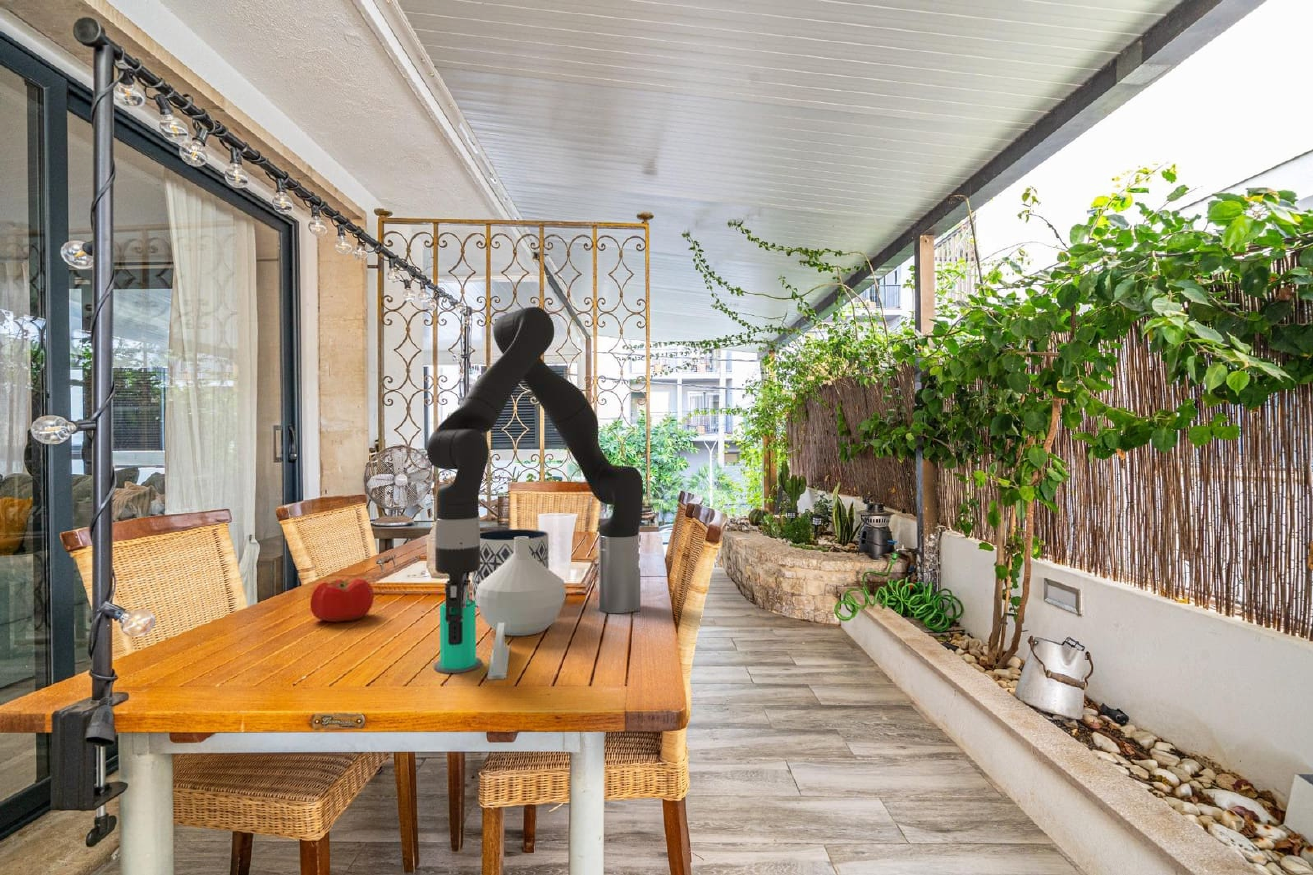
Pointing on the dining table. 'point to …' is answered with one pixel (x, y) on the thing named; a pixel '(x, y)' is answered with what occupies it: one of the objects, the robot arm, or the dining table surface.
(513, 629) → the vase
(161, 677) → the dining table surface
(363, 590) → the tomato
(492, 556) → the planter
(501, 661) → the divider wall
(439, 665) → the coaster
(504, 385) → the robot arm
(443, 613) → the candle
